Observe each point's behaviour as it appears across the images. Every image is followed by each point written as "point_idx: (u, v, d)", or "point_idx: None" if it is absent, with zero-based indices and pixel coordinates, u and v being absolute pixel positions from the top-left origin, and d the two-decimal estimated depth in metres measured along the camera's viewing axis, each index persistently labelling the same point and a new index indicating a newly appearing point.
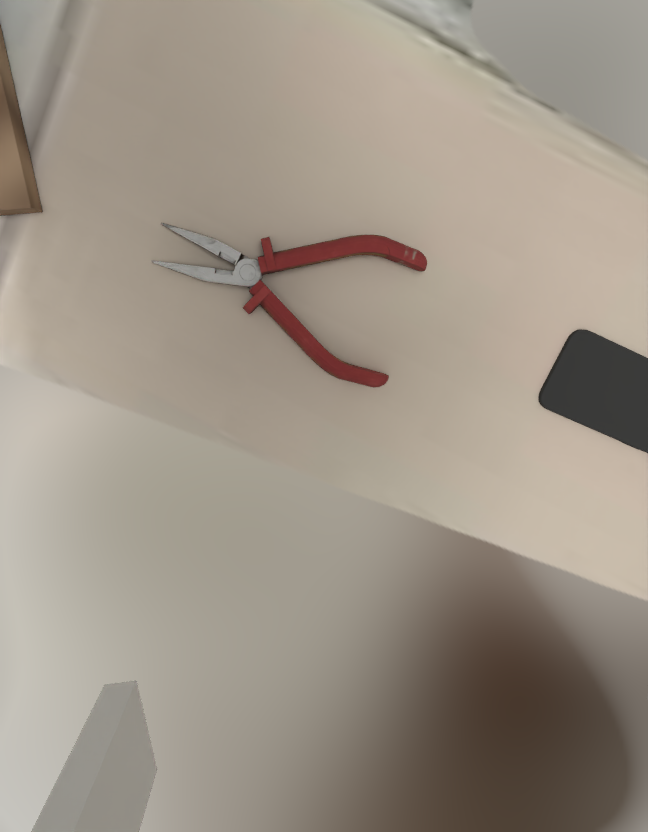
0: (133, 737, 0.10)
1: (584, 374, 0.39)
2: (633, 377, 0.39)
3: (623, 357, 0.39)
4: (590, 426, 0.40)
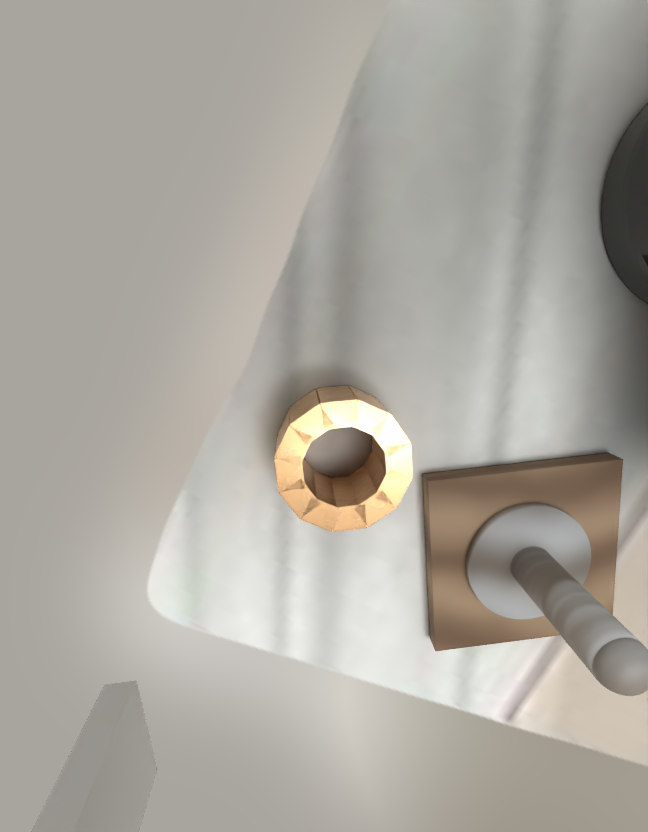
0: (133, 737, 0.10)
1: None
2: None
3: None
4: None
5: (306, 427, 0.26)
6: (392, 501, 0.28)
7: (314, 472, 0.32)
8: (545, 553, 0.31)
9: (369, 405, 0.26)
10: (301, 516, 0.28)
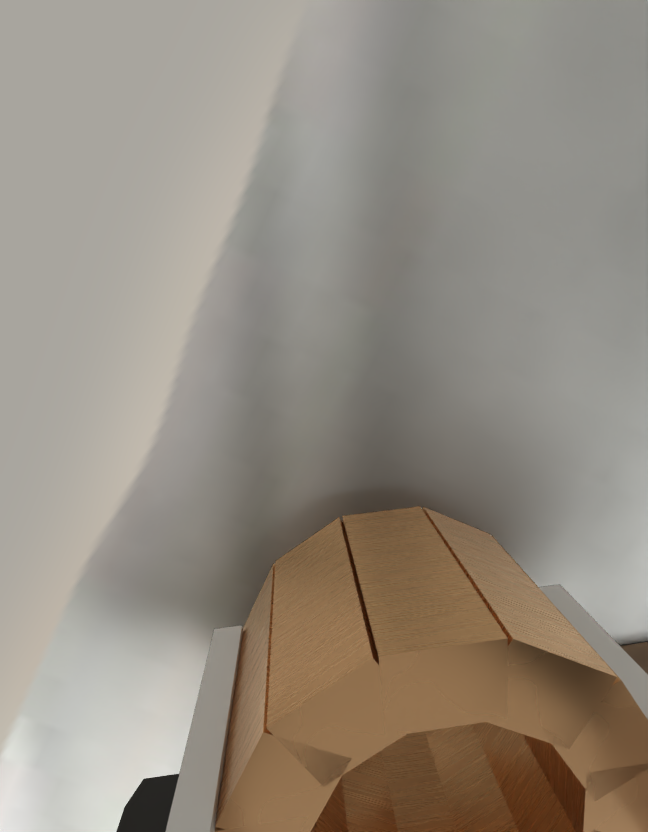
0: None
1: None
2: None
3: None
4: None
5: (326, 733, 0.07)
6: None
7: None
8: None
9: (550, 655, 0.07)
10: None
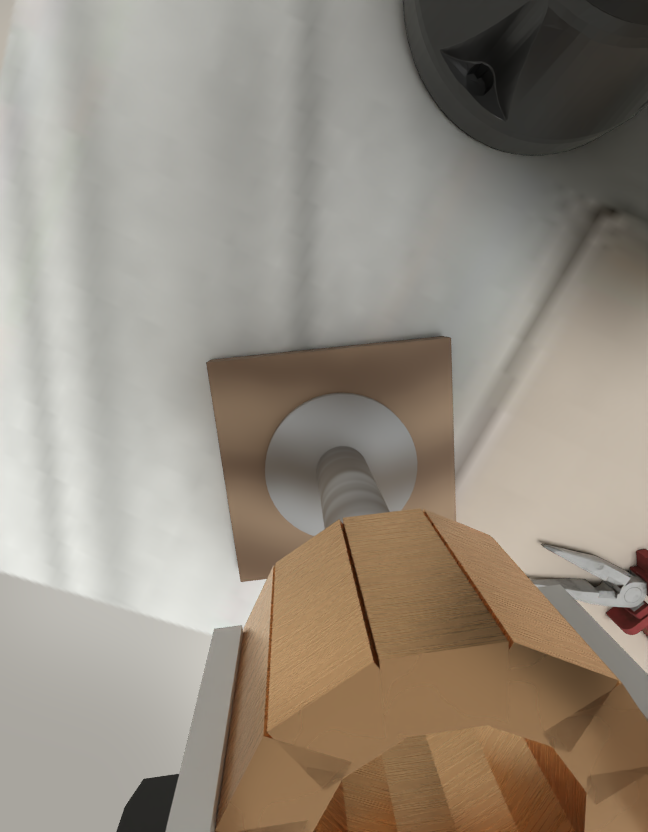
0: None
1: None
2: None
3: None
4: None
5: (326, 737, 0.07)
6: None
7: None
8: (351, 451, 0.25)
9: (551, 658, 0.07)
10: None
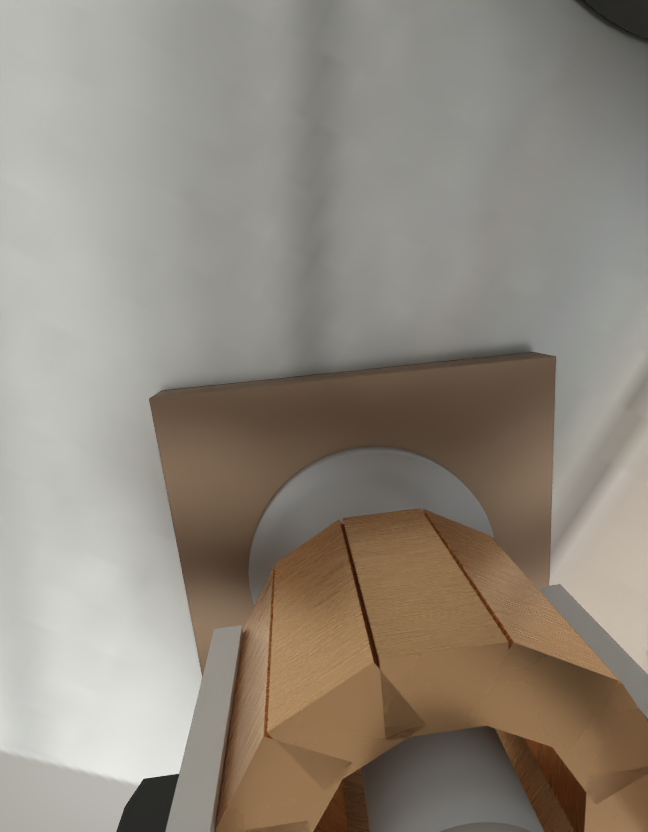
0: None
1: None
2: None
3: None
4: None
5: (326, 737, 0.07)
6: None
7: None
8: None
9: (550, 658, 0.07)
10: None
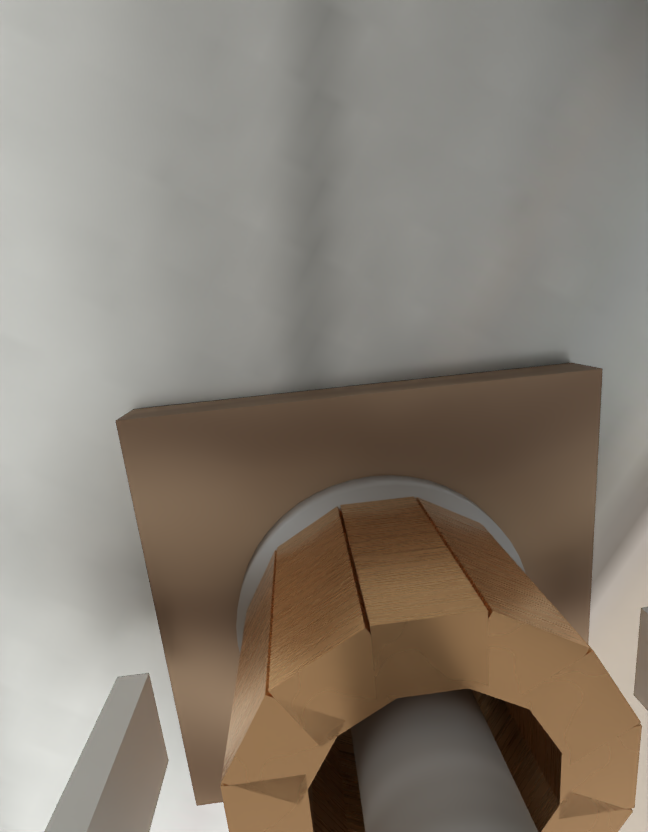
0: (146, 728, 0.10)
1: None
2: None
3: None
4: None
5: (322, 697, 0.08)
6: None
7: None
8: None
9: (527, 626, 0.08)
10: None
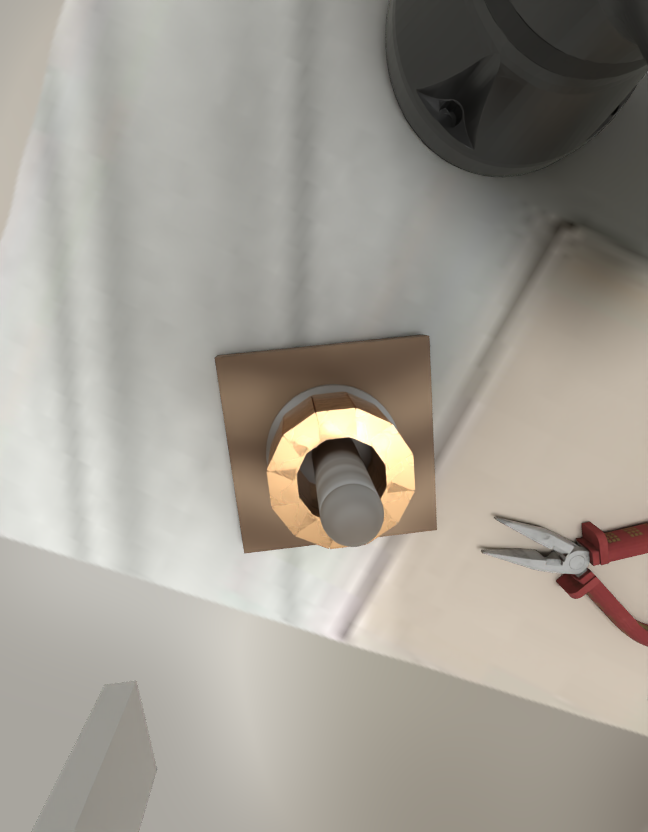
0: (133, 737, 0.10)
1: None
2: None
3: None
4: None
5: (301, 438, 0.25)
6: (393, 516, 0.26)
7: (310, 483, 0.30)
8: None
9: (368, 414, 0.25)
10: (295, 533, 0.26)
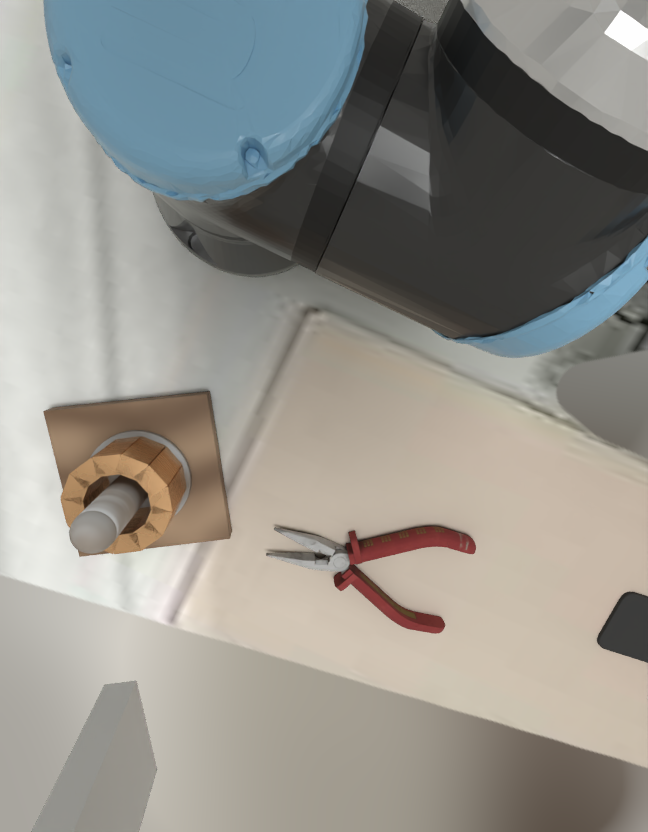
0: (133, 737, 0.10)
1: (633, 623, 0.50)
2: None
3: None
4: (638, 658, 0.51)
5: (83, 475, 0.35)
6: (158, 530, 0.36)
7: None
8: None
9: (131, 458, 0.34)
10: None
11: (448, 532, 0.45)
